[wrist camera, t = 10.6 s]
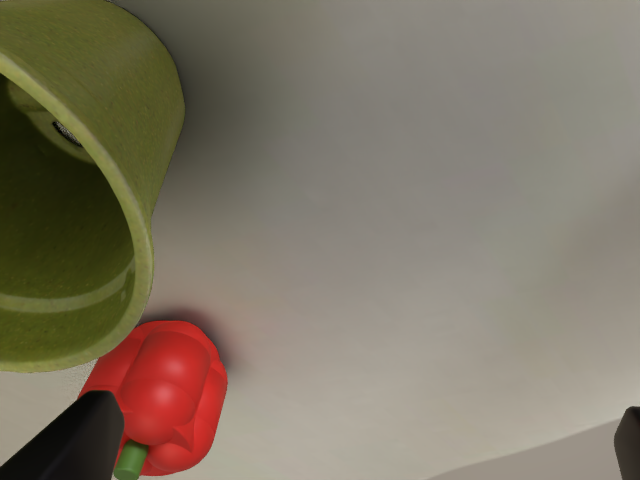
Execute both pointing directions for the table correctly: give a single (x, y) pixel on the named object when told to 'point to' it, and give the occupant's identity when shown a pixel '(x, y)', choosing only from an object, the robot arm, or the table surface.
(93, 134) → the plant pot
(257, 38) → the table surface
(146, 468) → the pepper
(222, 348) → the table surface
